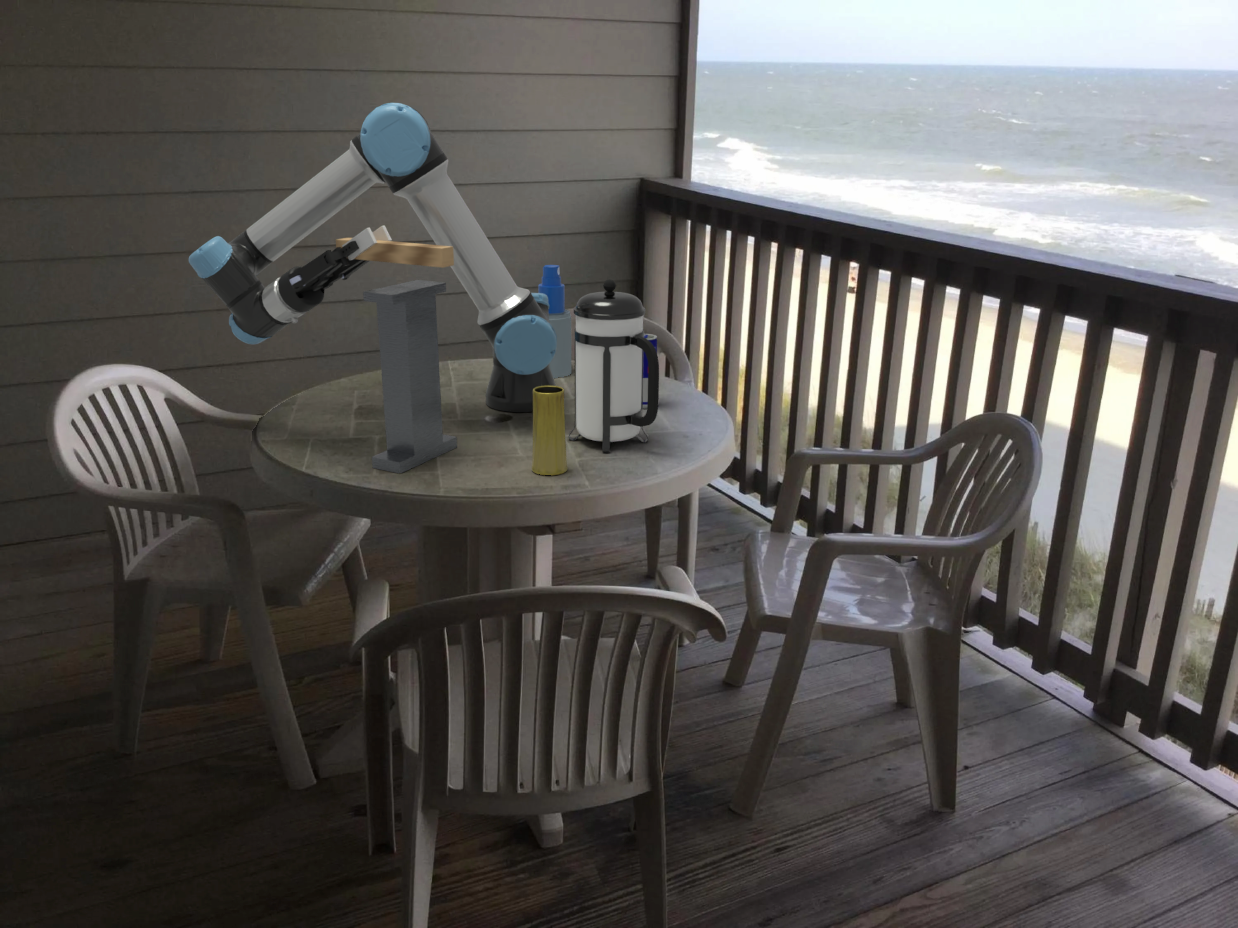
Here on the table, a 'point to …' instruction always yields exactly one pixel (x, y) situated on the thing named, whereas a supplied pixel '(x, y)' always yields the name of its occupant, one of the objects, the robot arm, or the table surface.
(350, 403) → the table surface
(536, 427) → the vase
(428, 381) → the charcoal post
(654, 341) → the beverage can
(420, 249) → the oak bar
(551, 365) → the spray bottle
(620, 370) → the coffee press
